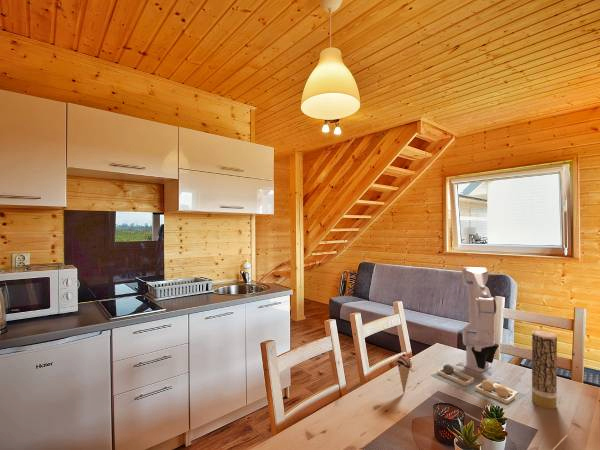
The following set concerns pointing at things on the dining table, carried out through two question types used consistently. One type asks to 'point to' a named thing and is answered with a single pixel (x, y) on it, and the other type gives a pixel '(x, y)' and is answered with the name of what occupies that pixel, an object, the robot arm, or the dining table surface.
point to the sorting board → (477, 387)
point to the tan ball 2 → (502, 391)
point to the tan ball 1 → (487, 385)
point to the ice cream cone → (404, 369)
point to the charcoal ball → (448, 369)
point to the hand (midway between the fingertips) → (485, 365)
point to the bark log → (544, 369)
